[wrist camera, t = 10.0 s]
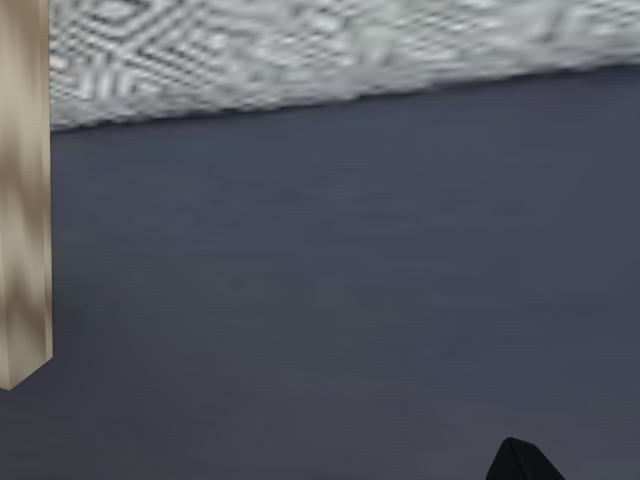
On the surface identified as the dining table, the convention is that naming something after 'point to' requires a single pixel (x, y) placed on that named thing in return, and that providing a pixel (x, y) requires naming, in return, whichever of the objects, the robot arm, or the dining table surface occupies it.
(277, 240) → the dining table surface
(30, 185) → the wooden compartment tray
